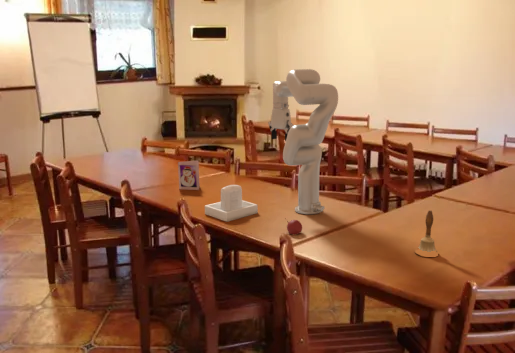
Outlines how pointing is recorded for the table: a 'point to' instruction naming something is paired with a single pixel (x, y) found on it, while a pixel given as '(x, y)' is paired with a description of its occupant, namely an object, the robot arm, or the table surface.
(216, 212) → the box
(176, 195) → the table surface
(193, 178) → the greeting card
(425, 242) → the hand bell
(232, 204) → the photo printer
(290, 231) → the fruit
